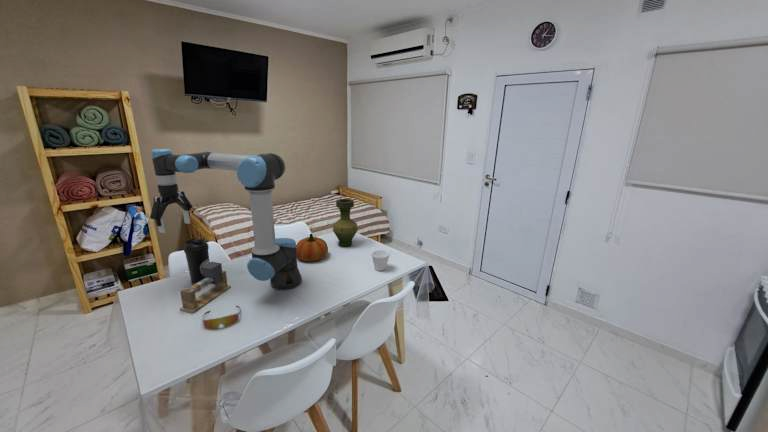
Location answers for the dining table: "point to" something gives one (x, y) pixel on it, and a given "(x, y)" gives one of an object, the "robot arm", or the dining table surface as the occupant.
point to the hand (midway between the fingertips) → (175, 227)
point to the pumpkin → (311, 248)
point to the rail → (195, 304)
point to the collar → (212, 271)
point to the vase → (345, 223)
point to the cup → (380, 259)
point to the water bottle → (196, 258)
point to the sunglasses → (220, 320)
